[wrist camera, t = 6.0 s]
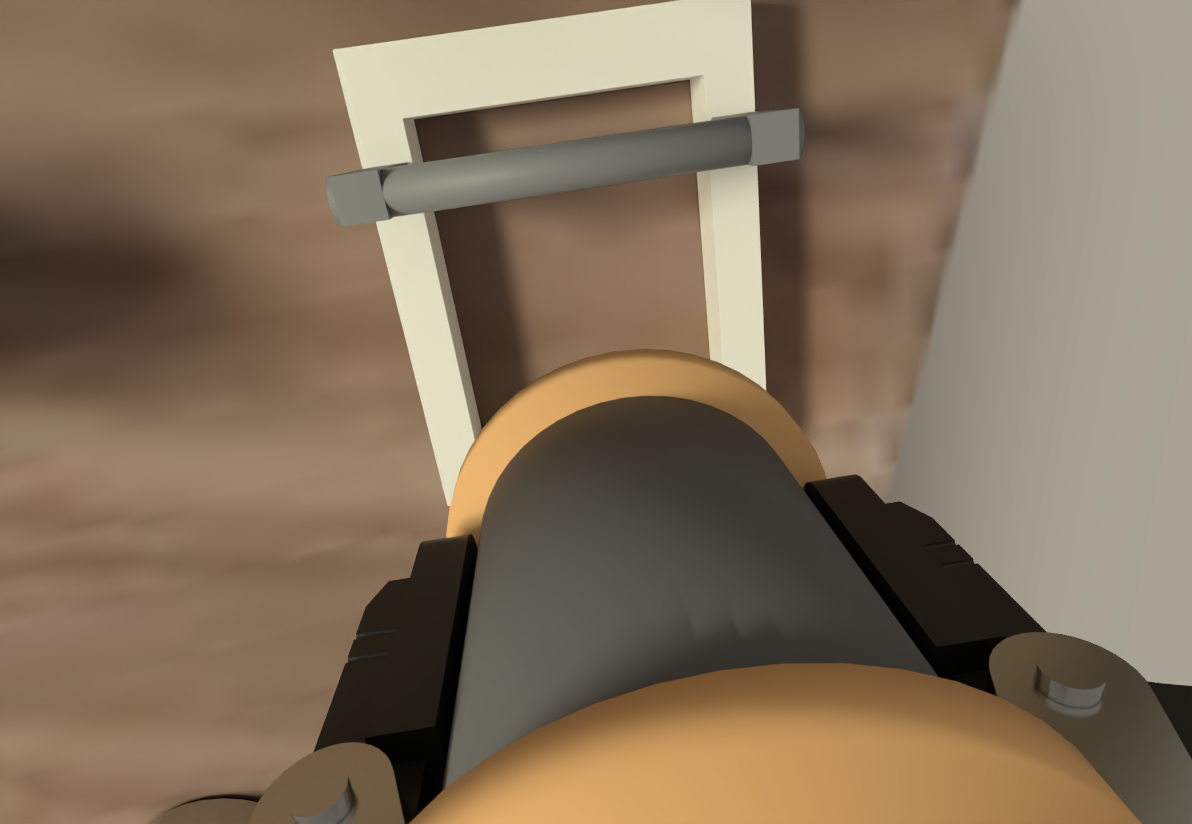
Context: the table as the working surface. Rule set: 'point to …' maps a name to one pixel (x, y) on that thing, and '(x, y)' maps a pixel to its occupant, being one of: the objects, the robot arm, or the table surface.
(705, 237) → the white frame with rod
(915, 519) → the robot arm
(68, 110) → the table surface
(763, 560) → the cord spool
